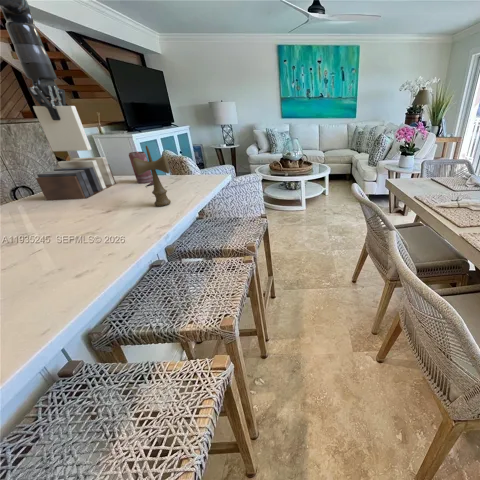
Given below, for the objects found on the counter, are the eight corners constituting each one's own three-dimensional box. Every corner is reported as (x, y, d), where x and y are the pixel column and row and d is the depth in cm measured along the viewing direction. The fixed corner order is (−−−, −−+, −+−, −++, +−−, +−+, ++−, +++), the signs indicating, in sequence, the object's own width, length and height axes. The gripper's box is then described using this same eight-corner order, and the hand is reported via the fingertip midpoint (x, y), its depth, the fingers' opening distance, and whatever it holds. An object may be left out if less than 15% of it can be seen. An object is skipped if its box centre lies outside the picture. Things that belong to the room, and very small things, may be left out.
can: (152, 182, 121) (143, 150, 115) (155, 185, 117) (146, 152, 110) (137, 184, 118) (126, 152, 111) (139, 187, 113) (129, 153, 107)
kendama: (177, 205, 93) (162, 145, 84) (146, 209, 90) (126, 147, 81) (178, 200, 98) (164, 143, 89) (149, 203, 95) (130, 145, 86)
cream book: (52, 151, 98) (32, 106, 91) (56, 150, 100) (37, 106, 93) (88, 150, 99) (70, 105, 93) (91, 149, 101) (75, 105, 94)
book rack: (45, 204, 94) (27, 169, 89) (84, 187, 114) (71, 157, 108) (88, 202, 96) (73, 167, 91) (119, 186, 116) (109, 156, 110)
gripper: (39, 65, 92) (62, 119, 100) (3, 59, 80) (32, 121, 88) (63, 65, 93) (83, 119, 101) (31, 59, 81) (57, 121, 89)
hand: (59, 119), depth 95 cm, fingers closed on cream book, 2 cm apart
